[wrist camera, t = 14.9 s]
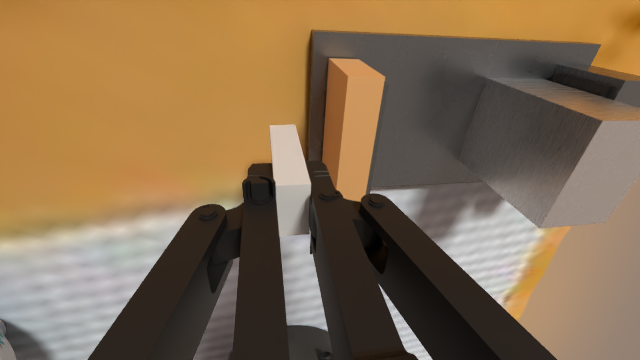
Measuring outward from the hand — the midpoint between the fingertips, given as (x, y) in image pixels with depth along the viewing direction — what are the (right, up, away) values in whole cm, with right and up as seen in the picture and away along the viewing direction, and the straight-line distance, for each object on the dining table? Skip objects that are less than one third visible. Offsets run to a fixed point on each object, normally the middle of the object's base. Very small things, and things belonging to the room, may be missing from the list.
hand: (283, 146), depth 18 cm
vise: (+12, +3, +6) cm, 14 cm away
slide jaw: (+4, +2, +4) cm, 6 cm away
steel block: (+17, +3, +6) cm, 18 cm away
